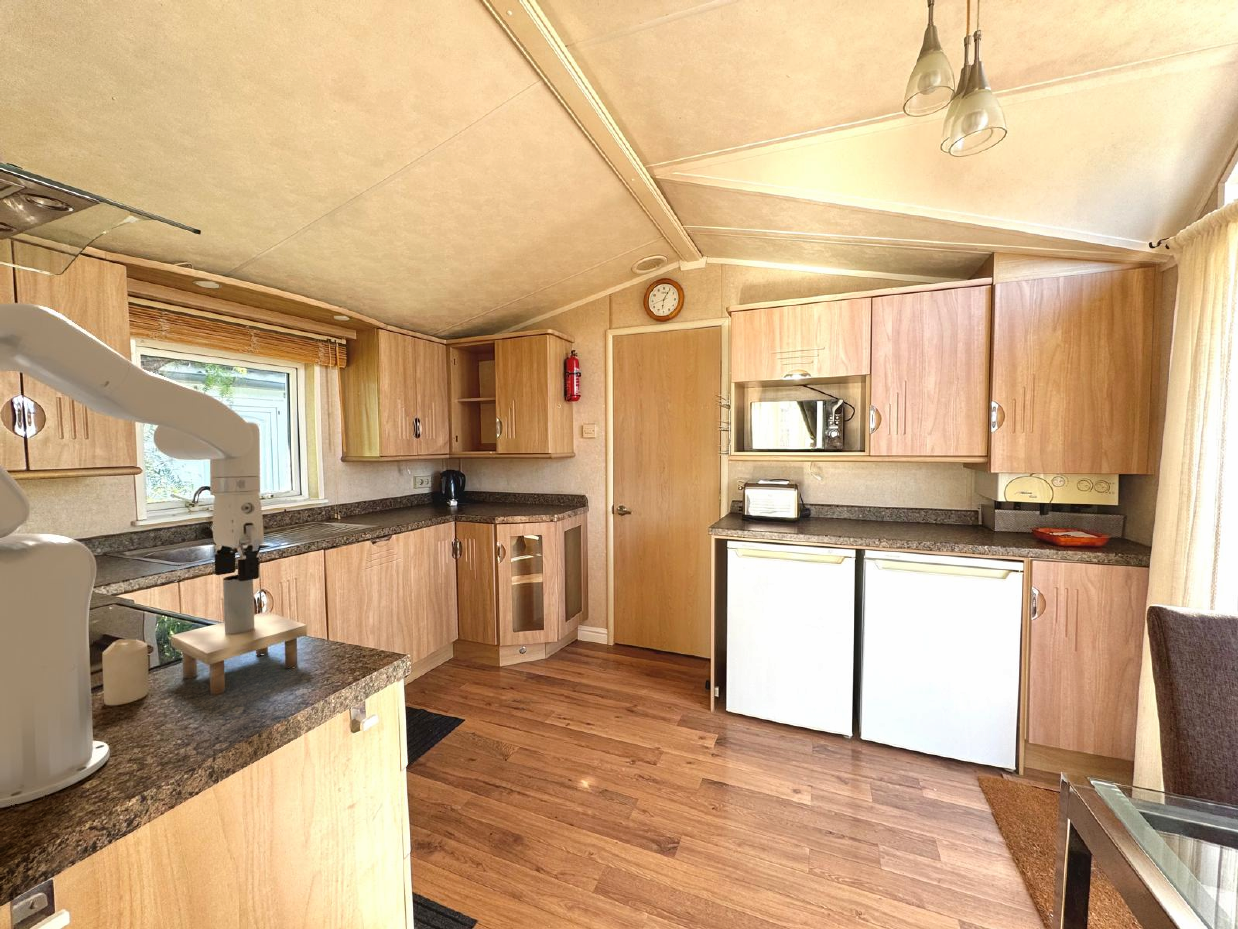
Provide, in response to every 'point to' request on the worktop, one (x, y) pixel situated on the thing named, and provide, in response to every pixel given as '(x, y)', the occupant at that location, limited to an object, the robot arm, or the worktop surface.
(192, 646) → the stool
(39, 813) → the worktop surface
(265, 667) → the worktop surface
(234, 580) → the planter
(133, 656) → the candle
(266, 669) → the worktop surface
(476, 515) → the worktop surface
